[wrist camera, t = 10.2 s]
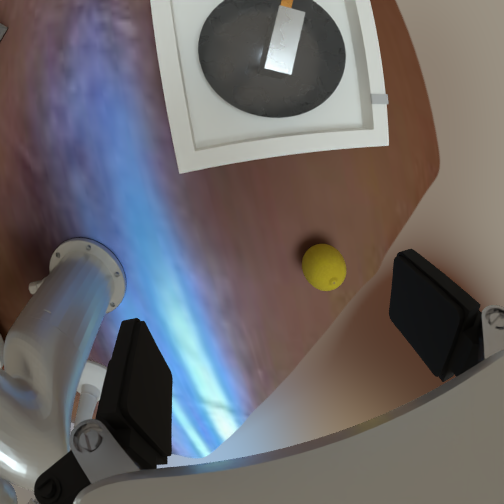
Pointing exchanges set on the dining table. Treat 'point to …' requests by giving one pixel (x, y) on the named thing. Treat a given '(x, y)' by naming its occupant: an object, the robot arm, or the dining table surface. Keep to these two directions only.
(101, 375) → the candlestick
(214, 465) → the robot arm
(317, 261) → the lemon
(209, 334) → the dining table surface
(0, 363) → the cereal bowl
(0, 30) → the skincare box
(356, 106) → the dial housing
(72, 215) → the dining table surface
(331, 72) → the dial
